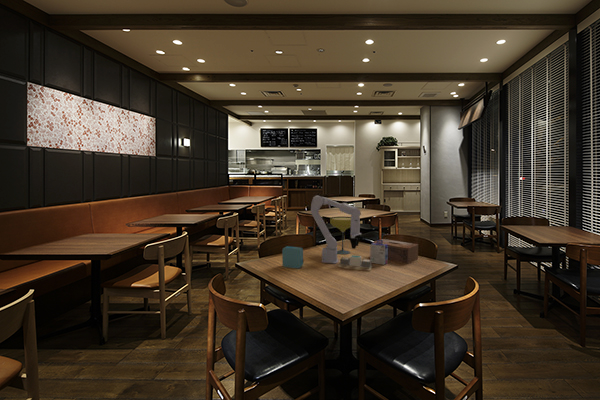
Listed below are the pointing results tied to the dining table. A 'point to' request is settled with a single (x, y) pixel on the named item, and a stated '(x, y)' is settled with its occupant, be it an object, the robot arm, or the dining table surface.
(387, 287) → the dining table surface
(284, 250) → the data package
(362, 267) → the din rail
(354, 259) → the block
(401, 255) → the tissue box cover
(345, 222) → the cocktail glass
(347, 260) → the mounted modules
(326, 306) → the dining table surface
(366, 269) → the rail board
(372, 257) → the ink cartridge box
